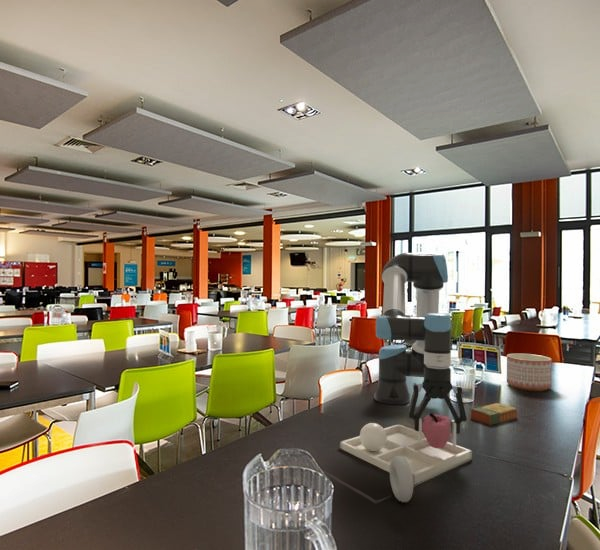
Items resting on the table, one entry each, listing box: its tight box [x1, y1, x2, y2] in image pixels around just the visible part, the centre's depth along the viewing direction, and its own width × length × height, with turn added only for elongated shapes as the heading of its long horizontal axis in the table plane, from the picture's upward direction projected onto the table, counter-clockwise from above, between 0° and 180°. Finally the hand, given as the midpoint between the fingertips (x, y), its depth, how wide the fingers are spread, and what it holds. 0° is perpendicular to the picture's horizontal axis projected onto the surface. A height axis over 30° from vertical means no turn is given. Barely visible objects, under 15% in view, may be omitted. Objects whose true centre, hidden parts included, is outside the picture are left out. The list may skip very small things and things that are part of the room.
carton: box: [470, 402, 518, 426], centre depth 158 cm, size 8×16×4 cm, turn 120°
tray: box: [339, 423, 473, 486], centre depth 124 cm, size 27×27×2 cm
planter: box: [506, 353, 553, 392], centre depth 205 cm, size 19×19×15 cm
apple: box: [421, 412, 452, 448], centre depth 123 cm, size 10×9×10 cm
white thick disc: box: [389, 456, 414, 503], centre depth 99 cm, size 10×4×10 cm, turn 5°
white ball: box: [359, 422, 387, 452], centre depth 125 cm, size 8×8×8 cm
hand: (436, 443), depth 123 cm, fingers closed on apple, 9 cm apart
